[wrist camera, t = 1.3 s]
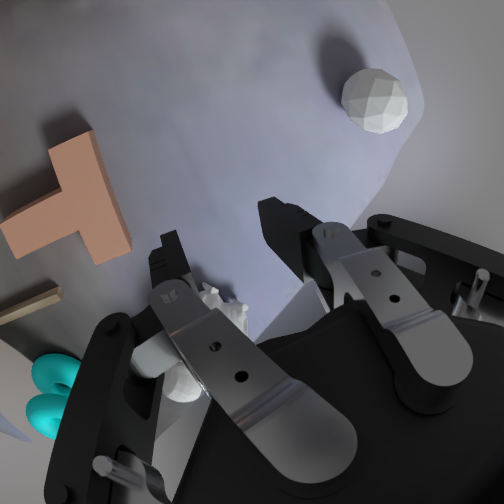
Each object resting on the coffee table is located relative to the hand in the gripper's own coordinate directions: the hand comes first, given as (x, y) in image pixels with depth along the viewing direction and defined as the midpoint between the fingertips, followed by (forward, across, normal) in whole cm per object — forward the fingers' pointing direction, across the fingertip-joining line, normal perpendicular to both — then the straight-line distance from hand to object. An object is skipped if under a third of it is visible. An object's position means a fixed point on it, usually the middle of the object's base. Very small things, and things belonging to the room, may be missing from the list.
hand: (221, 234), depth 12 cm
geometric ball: (+17, -22, -3) cm, 29 cm away
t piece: (+17, +12, 0) cm, 21 cm away
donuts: (+18, +26, +21) cm, 37 cm away
